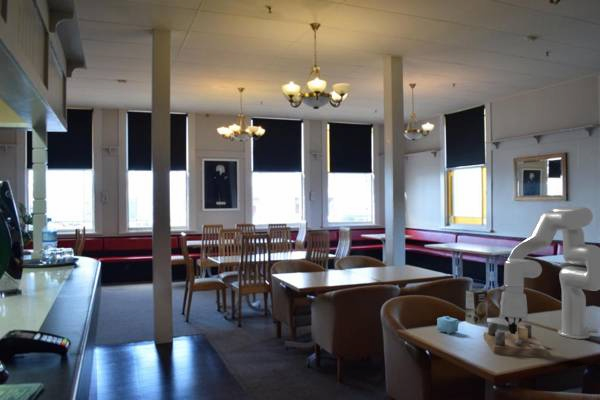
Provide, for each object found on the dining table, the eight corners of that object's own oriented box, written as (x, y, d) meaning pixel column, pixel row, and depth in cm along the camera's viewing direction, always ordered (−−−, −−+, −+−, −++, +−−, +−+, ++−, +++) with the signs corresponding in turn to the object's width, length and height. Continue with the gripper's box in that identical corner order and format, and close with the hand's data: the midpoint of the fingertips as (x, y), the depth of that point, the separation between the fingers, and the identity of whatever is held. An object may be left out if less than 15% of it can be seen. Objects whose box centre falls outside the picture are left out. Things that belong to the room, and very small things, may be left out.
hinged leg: (522, 345, 182) (522, 333, 182) (512, 344, 184) (512, 331, 184) (528, 340, 189) (528, 328, 189) (519, 338, 192) (519, 326, 192)
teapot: (464, 334, 209) (464, 318, 209) (457, 337, 205) (457, 320, 205) (441, 328, 218) (441, 313, 219) (434, 331, 215) (434, 315, 215)
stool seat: (532, 341, 198) (532, 323, 198) (547, 357, 179) (547, 337, 179) (483, 338, 202) (484, 321, 202) (493, 353, 183) (494, 334, 183)
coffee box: (475, 324, 225) (475, 292, 225) (465, 321, 231) (465, 290, 231) (487, 322, 230) (488, 291, 230) (477, 319, 235) (477, 288, 235)
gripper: (496, 290, 189) (495, 334, 188) (535, 292, 186) (534, 337, 185) (492, 287, 196) (491, 329, 196) (530, 289, 193) (529, 332, 193)
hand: (512, 333), depth 191 cm, fingers closed
